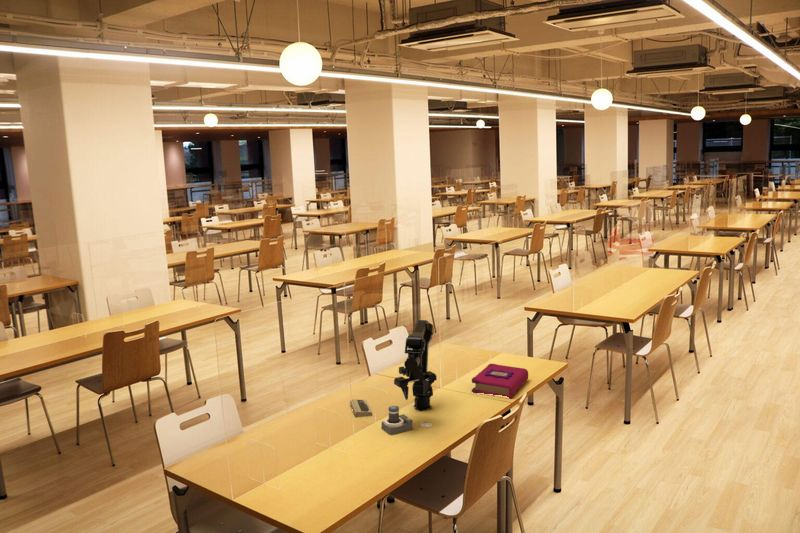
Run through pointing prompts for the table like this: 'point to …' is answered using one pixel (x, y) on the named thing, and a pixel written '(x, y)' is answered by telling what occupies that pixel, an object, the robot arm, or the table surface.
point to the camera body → (398, 425)
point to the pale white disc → (426, 424)
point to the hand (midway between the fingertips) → (415, 397)
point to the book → (499, 380)
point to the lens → (393, 414)
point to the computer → (360, 408)
